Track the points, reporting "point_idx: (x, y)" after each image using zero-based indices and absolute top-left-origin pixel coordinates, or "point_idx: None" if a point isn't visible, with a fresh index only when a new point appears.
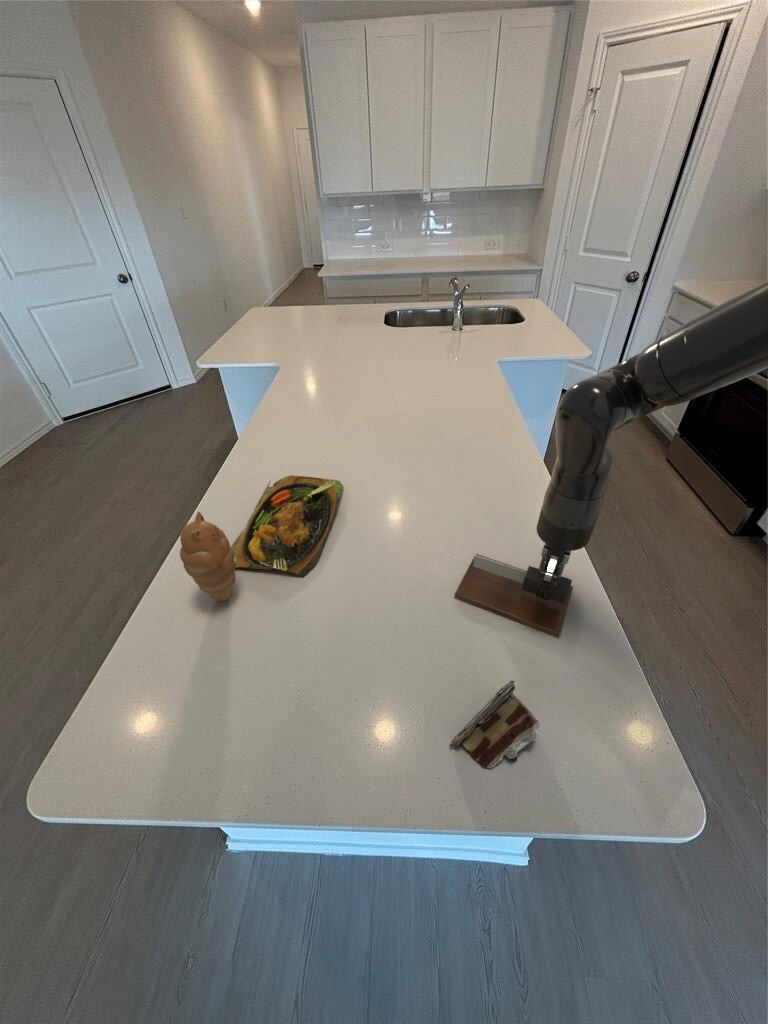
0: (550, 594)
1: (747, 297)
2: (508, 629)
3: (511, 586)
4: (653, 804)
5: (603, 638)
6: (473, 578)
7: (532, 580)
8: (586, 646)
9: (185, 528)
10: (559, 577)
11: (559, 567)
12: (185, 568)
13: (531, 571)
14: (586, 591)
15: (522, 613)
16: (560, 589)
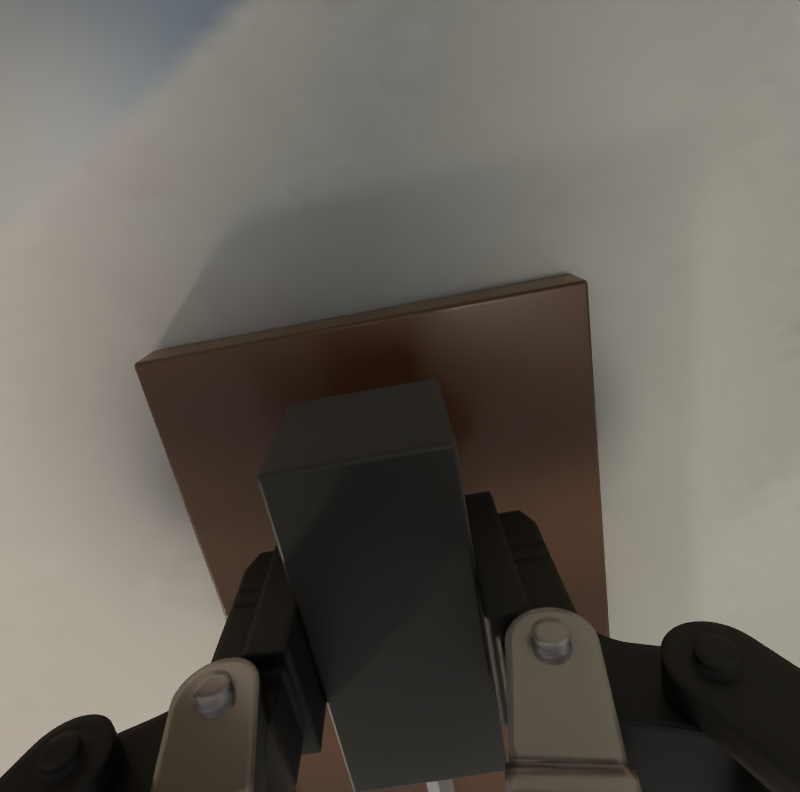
0: (502, 529)
1: None
2: (656, 515)
3: None
4: None
5: (399, 8)
6: (477, 787)
7: (497, 717)
8: (535, 94)
9: None
10: (629, 765)
11: (261, 688)
12: None
13: (409, 763)
14: (78, 268)
15: (558, 521)
16: (462, 515)
